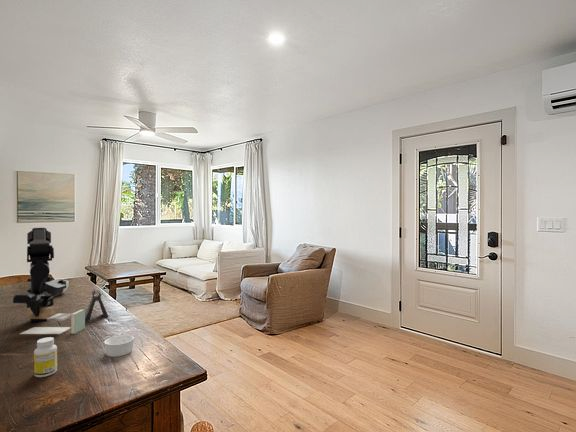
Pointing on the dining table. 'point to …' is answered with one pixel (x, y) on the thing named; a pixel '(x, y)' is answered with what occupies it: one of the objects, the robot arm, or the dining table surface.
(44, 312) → the turner
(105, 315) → the phone stand
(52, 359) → the supplement bottle
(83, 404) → the dining table surface
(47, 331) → the tool rest
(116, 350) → the ramekin
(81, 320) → the tile
